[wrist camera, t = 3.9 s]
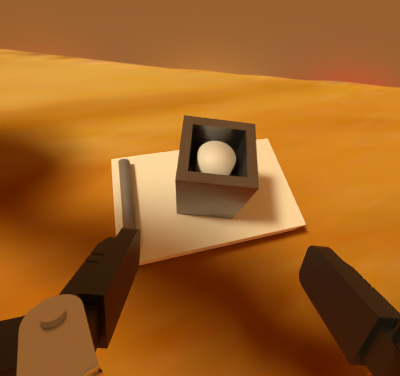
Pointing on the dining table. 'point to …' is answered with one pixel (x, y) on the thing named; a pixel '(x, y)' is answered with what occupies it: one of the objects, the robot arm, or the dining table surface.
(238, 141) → the hollow square tube
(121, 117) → the dining table surface
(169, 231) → the peg stand
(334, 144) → the dining table surface
